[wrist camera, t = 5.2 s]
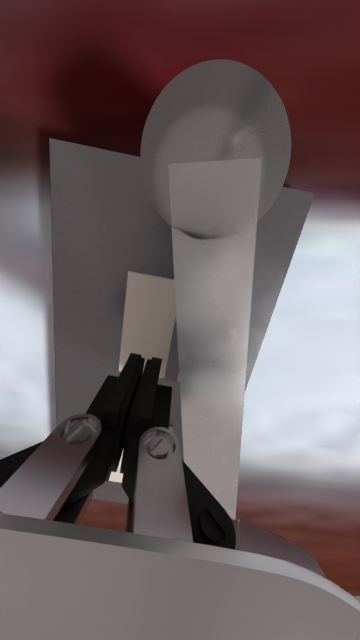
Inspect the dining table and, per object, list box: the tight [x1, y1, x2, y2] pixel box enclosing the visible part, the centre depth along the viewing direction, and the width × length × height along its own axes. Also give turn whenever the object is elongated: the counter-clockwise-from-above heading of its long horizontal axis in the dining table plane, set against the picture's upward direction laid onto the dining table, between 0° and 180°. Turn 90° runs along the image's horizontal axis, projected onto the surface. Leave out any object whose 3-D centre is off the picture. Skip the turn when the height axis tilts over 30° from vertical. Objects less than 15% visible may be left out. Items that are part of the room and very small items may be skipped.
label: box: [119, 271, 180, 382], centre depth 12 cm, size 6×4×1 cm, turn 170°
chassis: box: [49, 138, 314, 504], centre depth 14 cm, size 24×12×1 cm, turn 170°
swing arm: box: [140, 60, 291, 520], centre depth 11 cm, size 24×4×4 cm, turn 3°
